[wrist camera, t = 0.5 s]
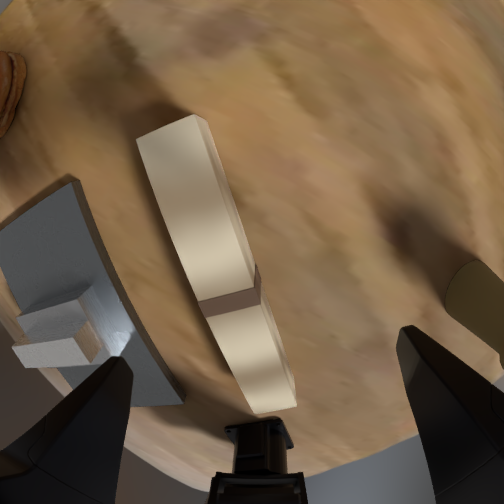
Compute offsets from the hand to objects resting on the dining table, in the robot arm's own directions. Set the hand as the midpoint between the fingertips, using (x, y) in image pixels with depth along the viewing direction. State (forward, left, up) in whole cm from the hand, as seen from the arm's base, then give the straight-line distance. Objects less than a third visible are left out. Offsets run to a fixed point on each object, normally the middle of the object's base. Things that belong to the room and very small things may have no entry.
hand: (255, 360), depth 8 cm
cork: (-10, -17, -12) cm, 24 cm away
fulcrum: (-2, +19, -12) cm, 22 cm away
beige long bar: (-2, +3, -12) cm, 13 cm away
